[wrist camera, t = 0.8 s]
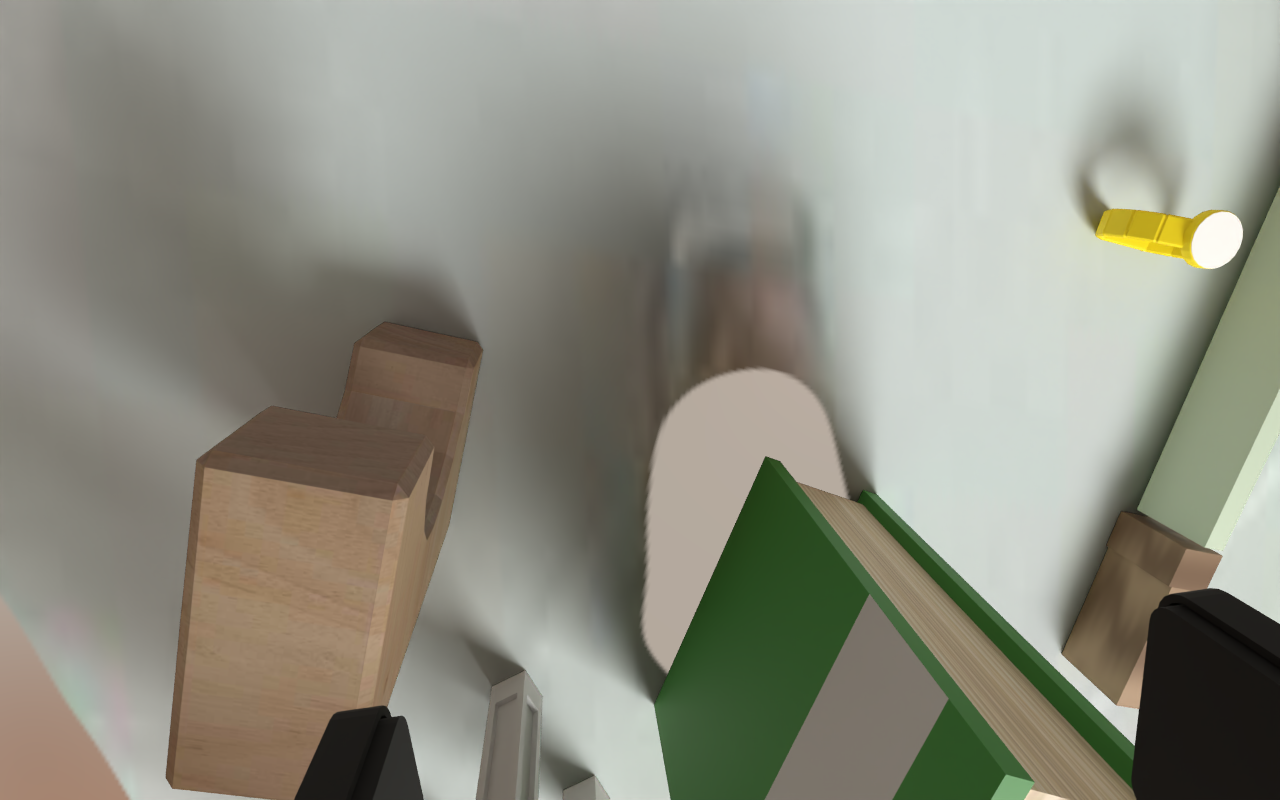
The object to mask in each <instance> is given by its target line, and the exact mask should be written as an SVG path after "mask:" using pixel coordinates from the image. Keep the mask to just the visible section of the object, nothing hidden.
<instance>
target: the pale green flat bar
mask: <svg viewBox="0 0 1280 800" xmlns="http://www.w3.org/2000/svg"><path fill="white" fill-rule="evenodd" d="M1279 433H1280V187H1279V189H1278V191H1277V193H1276V196H1275V198H1274V200H1273V202H1272V205H1271V207H1270V209H1269V212H1268V214H1267V216H1266V218H1265V221H1264V223H1263V225H1262V227H1261V230H1260V232H1259V234H1258V236H1257V239H1256V241H1255V243H1254V246H1253V248H1252V250H1251V252H1250V255H1249V257H1248V259H1247V261H1246V264H1245V266H1244V268H1243V270H1242V273H1241V275H1240V277H1239V279H1238V282H1237V284H1236V286H1235V289H1234V291H1233V293H1232V295H1231V298H1230V300H1229V302H1228V304H1227V307H1226V309H1225V311H1224V313H1223V316H1222V318H1221V320H1220V323H1219V325H1218V327H1217V329H1216V332H1215V334H1214V336H1213V338H1212V341H1211V343H1210V345H1209V347H1208V350H1207V352H1206V354H1205V356H1204V359H1203V361H1202V363H1201V366H1200V368H1199V370H1198V372H1197V375H1196V377H1195V379H1194V381H1193V384H1192V386H1191V388H1190V390H1189V393H1188V395H1187V397H1186V400H1185V402H1184V404H1183V406H1182V409H1181V411H1180V413H1179V415H1178V418H1177V420H1176V422H1175V424H1174V427H1173V429H1172V431H1171V433H1170V436H1169V438H1168V440H1167V443H1166V445H1165V447H1164V449H1163V452H1162V454H1161V456H1160V458H1159V461H1158V463H1157V465H1156V467H1155V470H1154V472H1153V474H1152V477H1151V479H1150V481H1149V483H1148V486H1147V488H1146V490H1145V492H1144V495H1143V497H1142V499H1141V501H1140V504H1139V506H1138V508H1137V510H1138V511H1140V512H1142V513H1144V514H1145V515H1147V516H1149V517H1151V518H1153V519H1154V520H1156V521H1158V522H1160V523H1161V524H1163V525H1165V526H1167V527H1169V528H1170V529H1172V530H1174V531H1176V532H1178V533H1179V534H1181V535H1183V536H1185V537H1187V538H1188V539H1190V540H1192V541H1194V542H1195V543H1197V544H1199V545H1201V546H1203V547H1204V548H1209V549H1214V550H1219V551H1223V550H1224V548H1225V546H1226V544H1227V542H1228V539H1229V537H1230V535H1231V533H1232V531H1233V529H1234V527H1235V525H1236V523H1237V521H1238V519H1239V517H1240V515H1241V512H1242V510H1243V508H1244V506H1245V504H1246V502H1247V500H1248V498H1249V496H1250V494H1251V492H1252V490H1253V488H1254V485H1255V483H1256V481H1257V479H1258V477H1259V475H1260V473H1261V471H1262V469H1263V467H1264V465H1265V463H1266V461H1267V458H1268V456H1269V454H1270V452H1271V450H1272V448H1273V446H1274V444H1275V442H1276V440H1277V438H1278V436H1279Z"/></svg>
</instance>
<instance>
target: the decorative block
mask: <svg viewBox="0 0 1280 800" xmlns="http://www.w3.org/2000/svg"><path fill="white" fill-rule="evenodd" d="M482 353H483V349H482V348H481V346H480V345H479V343H478V342H475V341H471V340H466V339H462V338H457V337H452V336H448V335H443V334H438V333H434V332H429V331H424V330H420V329H415V328H411V327H406V326H401V325H397V324H392V323H387V322H384V323H382V324H380V325H379V326H377V327H376V328H374V329H373V330H372V331H370V332H369V333H368V334H366V335H365V336H364V337H362V338H361V339H360V340H358V341H357V342H355V343H354V348H353V352H352V357H351V362H350V367H349V372H348V377H347V382H346V387H345V392H344V395H343V398H342V402H341V405H340V408H339V411H338V415H337V418H333V417H328V416H323V415H317V414H312V413H307V412H302V411H297V410H291V409H286V408H281V407H276V406H270V407H269V408H267V409H266V410H264V411H262V412H261V413H259V414H258V415H256V416H255V417H254V418H252V419H251V420H250V421H248V422H247V423H246V424H244V425H243V426H242V427H240V428H239V429H237V430H236V431H235V432H233V433H232V434H231V435H229V436H228V437H227V438H225V439H224V440H223V441H221V442H220V443H218V444H217V445H216V446H214V447H213V448H212V449H210V450H209V451H208V452H206V453H205V454H204V455H202V456H201V457H199V458H198V459H197V460H196V470H195V480H194V490H193V500H192V510H191V520H190V530H189V540H188V550H187V560H186V570H185V580H184V590H183V600H182V610H181V620H180V630H179V641H178V651H177V662H176V673H175V683H174V694H173V704H172V715H171V726H170V736H169V747H168V757H167V768H166V779H167V781H168V782H169V784H170V786H171V787H172V789H181V790H190V791H199V792H208V793H217V794H226V795H235V796H244V797H253V798H262V799H271V800H294V798H295V796H296V794H297V792H298V789H299V787H300V785H301V783H302V781H303V778H304V776H305V774H306V772H307V769H308V767H309V765H310V763H311V760H312V758H313V756H314V754H315V752H316V749H317V747H318V745H319V743H320V740H321V738H322V736H323V734H324V731H325V729H326V727H327V725H328V723H329V720H330V719H331V717H332V716H333V714H335V713H336V712H339V711H346V710H354V709H361V708H368V707H375V706H382V705H384V706H386V707H387V706H388V703H389V700H390V697H391V694H392V691H393V688H394V685H395V682H396V679H397V676H398V673H399V670H400V668H401V665H402V662H403V659H404V656H405V653H406V650H407V647H408V644H409V641H410V638H411V635H412V632H413V629H414V626H415V623H416V620H417V618H418V615H419V612H420V609H421V606H422V603H423V600H424V597H425V594H426V591H427V588H428V585H429V582H430V580H431V577H432V574H433V571H434V568H435V565H436V562H437V559H438V556H439V553H440V550H441V547H442V544H443V541H444V538H445V535H446V533H447V530H448V527H449V523H450V518H451V512H452V507H453V502H454V497H455V492H456V487H457V482H458V476H459V471H460V466H461V461H462V456H463V451H464V446H465V440H466V435H467V430H468V425H469V420H470V415H471V410H472V404H473V399H474V394H475V389H476V384H477V379H478V373H479V368H480V363H481V358H482Z"/></svg>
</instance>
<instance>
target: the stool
mask: <svg viewBox="0 0 1280 800" xmlns="http://www.w3.org/2000/svg"><path fill="white" fill-rule="evenodd" d="M541 720H542V695H541V693H540V692H539V690H538V689H537V687H536V686H535V684H534V683H533V681H532V680H531V678H530V676H529V675H528V673H527V672H526V670H525V671H523V672H521V673H519V674H517V675H515V676H513V677H510V678H508V679H506V680H504V681H502V682H500V683H498V684H496V685H494V686H492V689H491V696H490V703H489V710H488V717H487V724H486V731H485V738H484V745H483V752H482V759H481V766H480V773H479V780H478V787H477V794H476V800H538V793H539V769H540V745H541ZM563 800H610V798H609V796H608V795H607V793H606V792H605V790H604V789H603V787H602V786H601V784H600V782H599V781H598V779H597V778H596V776H595V775H594V776H592V777H590V778H588V779H586V780H584V781H582V782H580V783H578V784H576V785H574V786H572V787H569V788H567V789H565V790H563Z"/></svg>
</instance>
